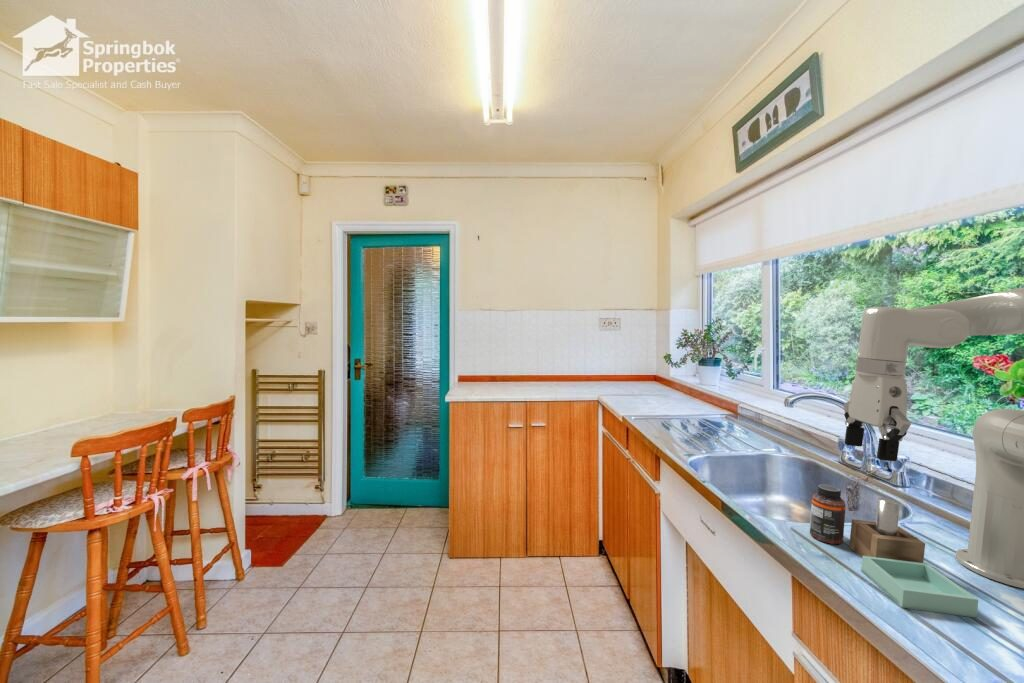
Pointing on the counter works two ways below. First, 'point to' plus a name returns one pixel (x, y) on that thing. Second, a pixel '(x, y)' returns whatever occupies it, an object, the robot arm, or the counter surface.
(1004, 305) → the robot arm
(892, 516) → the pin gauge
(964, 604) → the tray
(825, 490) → the supplement bottle
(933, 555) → the counter surface
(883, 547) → the bore block
